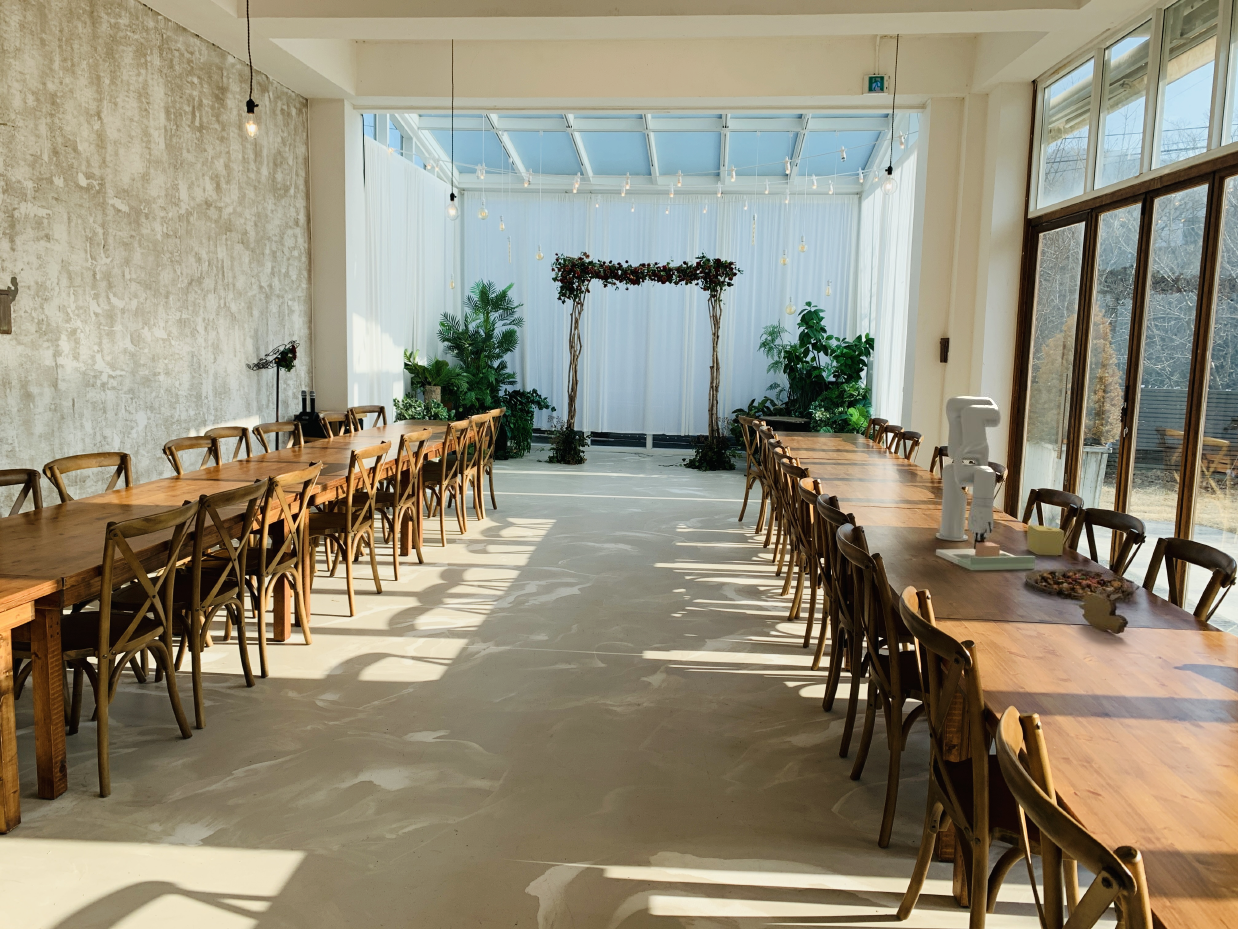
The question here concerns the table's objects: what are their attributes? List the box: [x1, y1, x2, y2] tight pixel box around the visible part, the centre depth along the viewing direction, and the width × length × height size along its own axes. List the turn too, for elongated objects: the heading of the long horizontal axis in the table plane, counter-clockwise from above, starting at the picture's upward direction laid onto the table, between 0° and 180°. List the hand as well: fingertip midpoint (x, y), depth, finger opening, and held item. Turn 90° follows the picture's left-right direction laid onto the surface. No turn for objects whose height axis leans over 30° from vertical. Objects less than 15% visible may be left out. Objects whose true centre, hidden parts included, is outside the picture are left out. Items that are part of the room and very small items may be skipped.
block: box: [975, 541, 1001, 557], centre depth 327 cm, size 6×6×5 cm
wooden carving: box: [1078, 594, 1129, 635], centre depth 249 cm, size 16×5×10 cm, turn 17°
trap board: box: [935, 548, 1036, 571], centre depth 329 cm, size 24×25×4 cm
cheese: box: [1026, 524, 1065, 556], centre depth 346 cm, size 10×11×10 cm
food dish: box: [1024, 567, 1140, 604], centre depth 291 cm, size 35×33×8 cm
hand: (978, 549), depth 332 cm, fingers closed
